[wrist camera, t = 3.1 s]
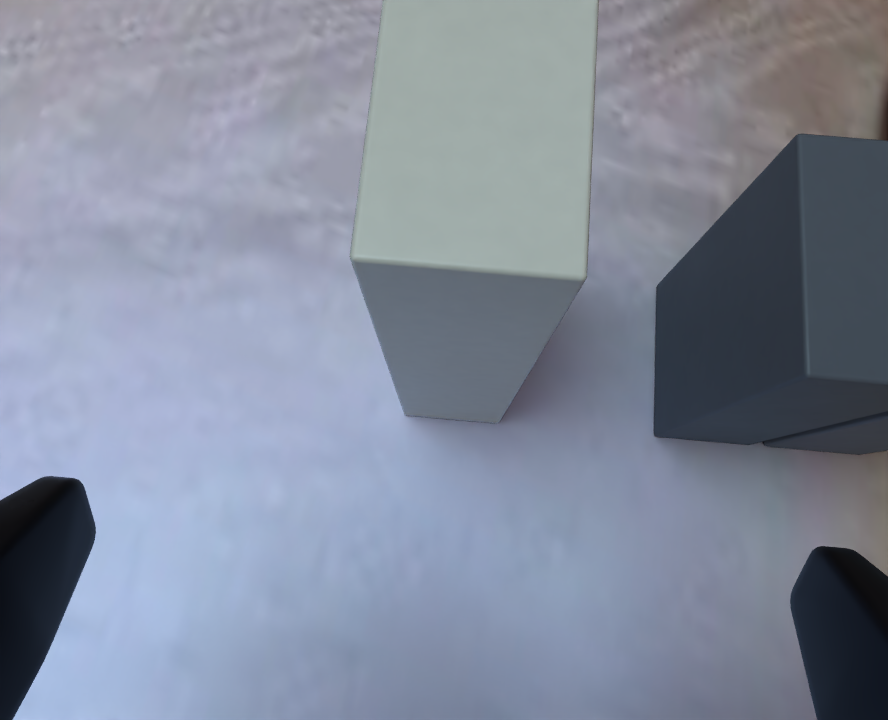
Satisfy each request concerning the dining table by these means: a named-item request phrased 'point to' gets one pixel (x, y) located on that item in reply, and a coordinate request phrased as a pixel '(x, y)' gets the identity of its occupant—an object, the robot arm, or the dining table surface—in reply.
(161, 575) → the dining table surface
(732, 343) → the grey blocks
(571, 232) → the pale green rectangular slab
